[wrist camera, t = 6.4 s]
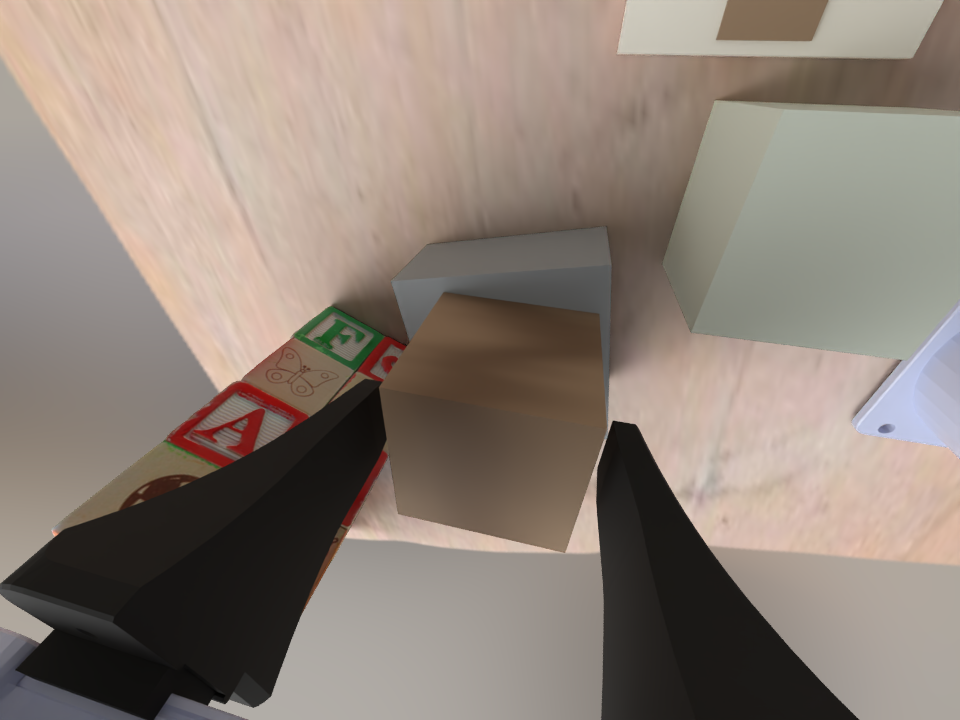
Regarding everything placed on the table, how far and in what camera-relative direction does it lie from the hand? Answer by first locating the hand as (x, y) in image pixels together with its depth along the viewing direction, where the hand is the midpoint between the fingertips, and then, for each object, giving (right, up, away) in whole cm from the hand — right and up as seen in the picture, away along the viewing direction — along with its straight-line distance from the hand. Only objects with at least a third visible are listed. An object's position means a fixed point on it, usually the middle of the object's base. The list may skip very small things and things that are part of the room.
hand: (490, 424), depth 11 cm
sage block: (+9, +7, +1) cm, 11 cm away
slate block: (+2, +4, +5) cm, 7 cm away
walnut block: (+1, +2, +2) cm, 3 cm away
